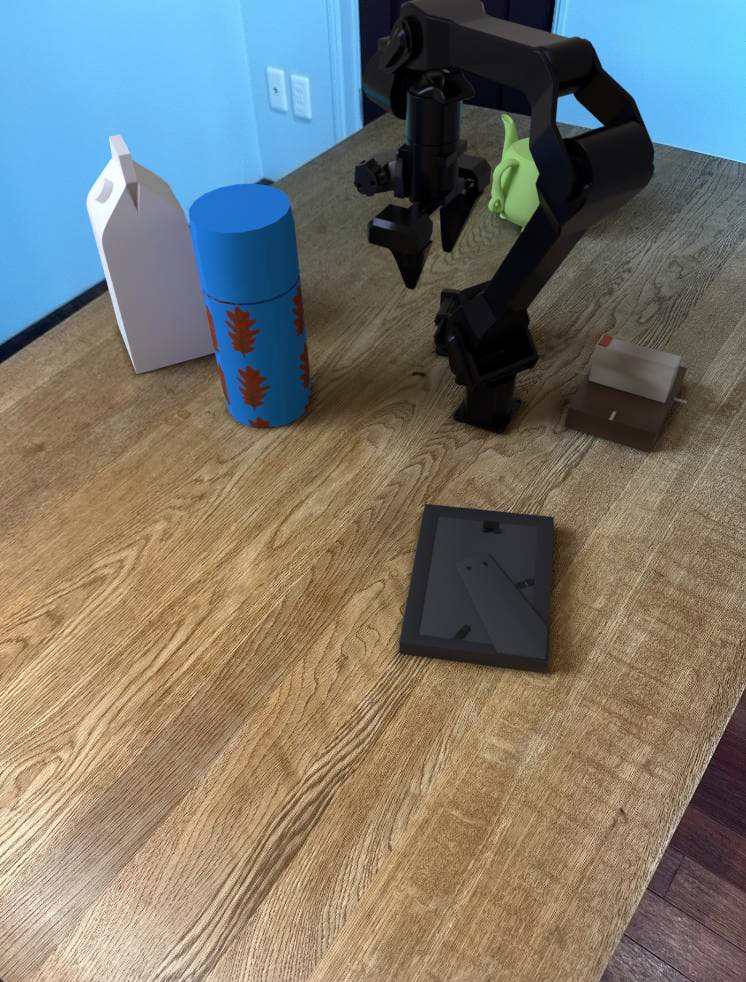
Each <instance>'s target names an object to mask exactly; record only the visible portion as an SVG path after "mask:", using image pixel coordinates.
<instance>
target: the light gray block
mask: <svg viewBox="0 0 746 982" xmlns="http://www.w3.org/2000/svg"><path fill="white" fill-rule="evenodd" d="M681 361H682V356H680V355H677V354H673V353H670V352H666V351H662V350H660V349H655V348H651V347H649V346H648V347H647V346H644V345H641V344H636V343H633V342H630V341H626V340H622V339H618V338H615V337H613V335H612V336H611V335H608V334H603V335H601V337H600V338H599V340H598V341H597V343H596V344H595V348H594V353H593V357H592V362H591V367H590V370H591V371H590V370H589V372H590V376H589V381H592V382H595V383H598V384H602V385H605V386H608V387H612V388H615V389H619V390H622V391H625V392H629V393H632V394H636V395H639V396H642V397H646V398H649V399H653V400H656V401H659V402H663V403H665V402H666V400H667V398H668V396H669V395H670V393H671V390H672V386H673V383H674V380H675V377H676V374H677V370H678V367H679V366H680V364H681Z"/></svg>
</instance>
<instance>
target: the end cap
mask: <svg viewBox="0 0 746 982" xmlns="http://www.w3.org/2000/svg"><path fill="white" fill-rule="evenodd" d="M461 290H462V289H457V288H456V289H455V288H448V287H443V289H441V291H440V295H439V296H440V297H439V298H440V299H439V309H438V311H437V313H436V315H435V317H434V320H433V323H434V326H436V327H437V328H436V330H435V332H434V334H433V336H432V337H433V339H434V341H433V342H434V345H435V348H434V353H435V354H436V355H440V356H445V357H448V353H447V346H446V339H445V330H446V324H447V320H448V317H449V316H450V313H449V312H448V309H449V308H451V307H452V306H453V305H454V303H455V300H456V297H457V295H458V294H459V293H460V291H461Z"/></svg>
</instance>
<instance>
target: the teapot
mask: <svg viewBox="0 0 746 982" xmlns="http://www.w3.org/2000/svg"><path fill="white" fill-rule="evenodd" d="M501 120H502V122H503V126H504V131H505V133H504V135H505V136H504V143H503V148H502V155H501V160H500V162H499V163H498V164H497V166H496V167H495V169H494V170H493V174H492V186H491V191H490V192H491V194H490V195H491V198H490V200H489V202H488V204H487V205H488V210H489V211H490V213H492V214H499V217H500V218H501V219H502V220H507V221H509V222H511V223H513V224H514V225H517V226H519V227H522V228H521V231H520V233H521V232H522V231H523V229H524V228H525V226H526V225H527V223H528V221H529V220H530V218H531V217H532V215H533V214H534V212H535V211H536V209H537V207H538V206H539V198H538V194H537V189H536V181H537V178H538V175H539V172H538V170H537V167H536V165H535V162H534V160H533V158H532V155H531V153H530V150H529V137H524V138H522V139H519V137H518V132H517V127H516V124H515V122H514V120H513V118H512V117H511V116H509V115H508V114H506V113H503V114H501Z"/></svg>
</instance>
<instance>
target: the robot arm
mask: <svg viewBox="0 0 746 982" xmlns="http://www.w3.org/2000/svg"><path fill="white" fill-rule="evenodd" d="M449 70H452V71H449ZM453 70H454V71H453ZM464 72H466V73H468V74H472V75H474V76H477V77H480V78H482V79H485V80H488V81H490V82H493V83H496V84H499V85H502V86H505V87H507V88H510V89H513V90H515V91H519V92H520V93H524V95H525V97H526V99H527V102H528V104H529V106H530V110H531V112H530V113H531V114H530V126H529V150H530V153H531V155H532V158H533V160H534V162H535V165H536V167H537V170H538V172H539V175H538V178H537V181H536V189H537V194H538V198H539V206H538V207H537V209H536V211H535V212H534V214H533V215H532V217H531V218H530V220H529V221H528V223H527V225H526V226H525V228H524V229H523V231H522V230H521V231H522V232H521V231H520V233H519V236H518V237H517V239H516V240H515V242H514V243H513V244H512V246H511V248H510V249H509V251H508V253H507V254H506V256H505V257H504V259H503V260H502V261H501V263H500V265H499V267H498V268H497V269H496V271H495V273H494V275H492V278H491V279H488V280H486V281H483V282H480V283H478V284H474V285H472V286H469V287H466V288H464V289H460V290H461V291H460V293H459V294H458V295H457V297H456V300H455V303H454V305H453V306H452V307H451V308H449V309H448V312H449V313H450V316H449V317H448V320H447V324H446V330H445V339H446V346H447V353H448V356H447V358H448V359H447V360H448V365H449V371H450V372H451V373H452V374H453V375H454V383H455V384H456V385H457V386H461V387H465V388H464V389H465V390H464V398H463V400H462V401H461V402H460V403H459V405H458V407H457V408H456V409H455V411H454V412H453V414H452V419H453V420H455V421H456V422H457V421H458V422H461V423H462V424H466V425H470V426H473V427H476V428H479V429H481V430H485V431H489V432H490V433H491V432H492V433H495V434H498V435H502V434H504V433H505V432H506V431H507V429H508V427H509V426H510V424H511V423H512V421H513V420H514V418H515V417H516V415H517V414H518V412H519V410H520V409H521V408H522V407H523V403H524V402H523V400H522V399H521V398H518V397H515V392H516V385H517V376H518V374H519V373H522V372H525V371H527V370H532V369H534V368H535V367H536V366H537V363H538V362H539V359H540V355H539V352H538V350H537V347H536V344H535V342H534V339H533V335H532V334H531V331H530V328H529V326H530V324H531V321H532V320H531V317H530V314H529V310H528V309H529V307H530V306H531V305H532V303H533V302H534V300H535V299H536V297H537V296H538V295H539V294H540V293H541V291H542V290H543V289H544V287H545V286H546V285H547V283H548V282H549V281H550V280H551V278H552V277H553V276H554V275H555V273H556V271H557V270H559V267H560V266H562V264H563V262H565V260H566V259H567V258H568V256H569V254H570V253H571V252H572V251H573V249H574V248H575V247H576V246H577V244H578V243H579V241H580V240H581V239H582V237H583V236H584V235H585V234H586V232H587V231H588V230H589V229H590V228H591V227H592V226H593V225H595V224H596V223H599V221H602V220H603V219H605V218H606V217H608V216H610V215H611V214H613V213H615V212H616V211H617V210H619V209H621V208H622V207H624V206H625V205H626V204H628V203H629V202H630V201H631V200H632V199H633V198H635V197H636V196H637V195H639V194H640V193H641V192H642V191H643V190H644V189H646V187H647V186H648V185H649V184H650V182H651V180H652V178H653V175H654V172H655V170H656V169H655V168H656V166H655V165H654V161H655V148H654V144H653V141H652V138H651V136H650V134H649V131H648V128H647V126H646V124H645V121H644V119H643V116H642V114H641V112H640V110H639V107H638V104H637V102H636V100H635V99H634V97H633V95H631V94H630V93H629V92H628V91H627V90H626V89H625V88H624V87H623V86H622V85H621V84H620V83H618V81H616V79H614V78H613V76H612V75H610V74H609V73H608V72H607V71H606V70H605V69H604V68H603V65H602V63H601V60H600V58H599V55H598V53H597V51H596V48H595V47H594V46H593V43H592V42H591V41H590V40H589V39H587V38H585V37H584V38H582V37H580V36H571V37H567V36H564V35H560V34H556V33H553V32H549V31H545V30H541V29H538V28H534V27H530V26H527V25H524V24H519V23H517V22H512V21H509V20H505V19H501V18H497V17H494V16H491V15H489V14H488V13H486V11H485V5H484V2H483V1H481V0H410V1H409V0H408V1H405V2H403V3H402V4H401V5H400V12H399V18H397V19H396V21H394V24H393V27H392V29H391V31H390V34H389V36H384V37H380V38H378V39H377V51H376V52H375V53H373V55H372V56H371V57H370V59H369V60H368V61H367V63H366V66H365V68H364V72H363V74H362V79H361V81H362V86H363V87H362V89H363V91H364V94H365V96H366V97H367V98H368V100H370V101H371V102H373V103H374V104H375V105H377V106H379V107H380V108H381V109H383V110H384V111H386V112H388V113H389V114H391V115H392V116H393V117H395V118H397V119H399V120H402V121H405V142H404V143H403V144H402V145H401V146H400V147H398V148H395V149H390V150H386V151H381V152H378V153H376V154H374V155H372V156H371V157H370V158H368V159H367V160H365V159H362V160H360V162H358V163H357V164H355V166H354V172H353V174H354V178H353V179H354V181H353V186H354V188H356V191H357V192H358V193H359V194H360V195H363V196H364V195H365V196H366V197H369V198H370V197H373V196H375V194H376V195H377V194H382V193H388V192H393V198H397V199H401V200H404V199H405V198H407V199H408V201H409V202H410V203H411V205H410V206H409V207H405V206H401V205H396V204H392V203H389V204H388V205H386V207H384V208H383V209H382V210H381V211H380V212H378V213H377V214H376V215H375V216H374V217H373V218H372V219H370V221H368V222H367V223H366V228H367V229H366V233H367V235H366V237H367V241H368V244H370V245H374V246H377V247H380V248H385V249H388V250H389V251H390V253H391V255H392V256H393V258H394V260H395V263H396V265H397V268H398V271H399V273H400V276H401V278H402V282H403V284H404V287H405V288H406V289H408V290H411V291H414V290H415V289H416V288H417V285H418V283H419V280H420V278H421V276H422V273H423V270H424V267H425V265H426V262H427V259H428V256H429V254H430V251H431V249H432V245H433V243H434V241H433V240H432V239H431V238H432V235H433V231H434V222H433V220H432V219H431V218H432V217H433V216H434V215H435V214H436V213H437V212H438V211H439V225H440V239H441V240H440V241H441V249H442V251H443V252H444V253H447V254H451V253H452V252H453V250H454V249H455V247H456V245H457V243H458V241H459V239H460V236H461V235H462V233H463V231H464V229H465V227H466V225H467V224H468V222H469V219H470V218H471V217H472V214H473V212H474V210H475V209H476V207H477V206H478V203H479V202H480V199H481V198H482V196H484V195H485V194H484V193H485V189H486V188H487V187H488V186H489V185H490V184H491V176H492V166H491V165H490V163H489V162H488V161H487V159H486V158H485V157H482V156H476V155H473V154H472V155H471V154H467V153H466V152H467V151H468V140H466V139H463V138H461V135H462V120H463V119H462V117H463V101H466V100H470V99H472V98H474V97H475V95H476V93H475V89H474V88H473V85H472V83H471V82H470V81H469V80H467V78H466V77H465V75H464ZM569 95H573V97H574V99H575V100H576V101H577V102H578V103H579V104H580V105H581V106H582V107H583V108H584V109H585V110H586V111H588V112H589V113H590V114H591V115H592V116H593V117H594V118H595V119H596V120H597V121H598V122H599V123H601V124H602V126H598V127H596V128H595V127H594V128H593V129H590V130H589V129H588V130H586V131H583V132H579V133H576V134H572V135H569V136H565V137H563V136H562V134H561V132H560V129H559V126H558V124H557V113H558V102H559V98H562V97H566V96H569Z"/></svg>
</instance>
